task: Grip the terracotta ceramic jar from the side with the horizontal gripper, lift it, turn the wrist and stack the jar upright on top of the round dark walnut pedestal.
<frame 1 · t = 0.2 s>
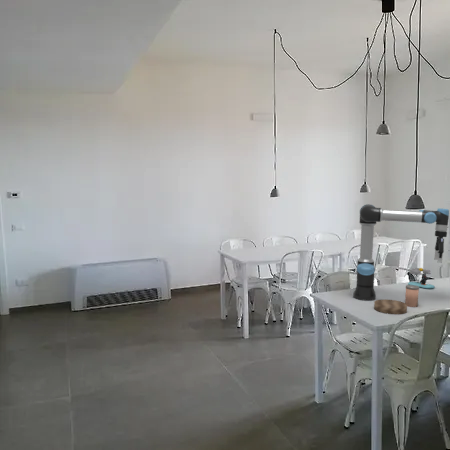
hand: (437, 261, 334), 27 cm above the table, fingers open, 13 cm apart
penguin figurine: (420, 287, 373), on the table
walnut pedestal: (390, 309, 310), on the table
terracotta jar: (411, 305, 321), on the table
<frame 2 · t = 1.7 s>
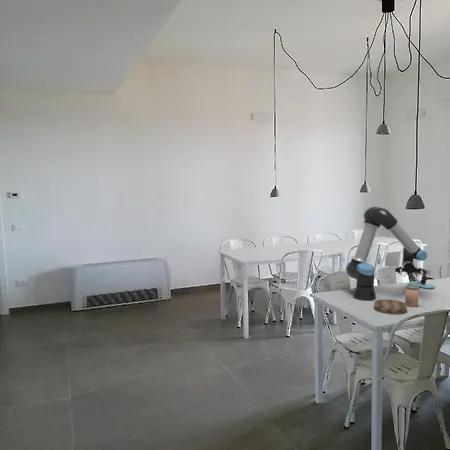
hand: (411, 273, 328), 20 cm above the table, fingers open, 13 cm apart
nothing on the table moved.
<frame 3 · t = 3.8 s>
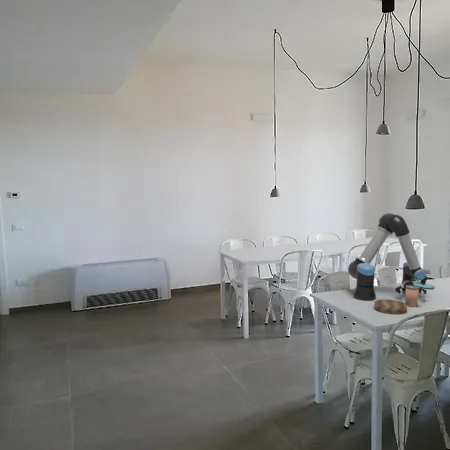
hand: (412, 293, 326), 6 cm above the table, fingers open, 13 cm apart
nothing on the table moved.
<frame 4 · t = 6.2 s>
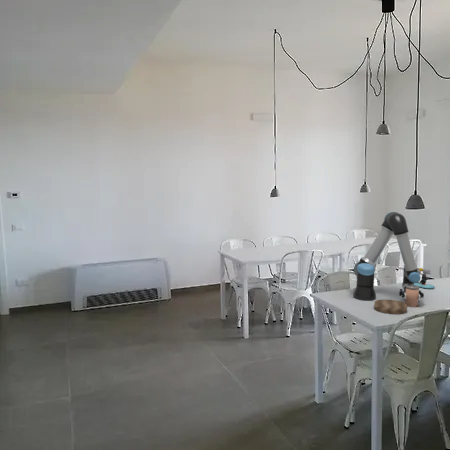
hand: (412, 297, 315), 7 cm above the table, fingers closed on terracotta jar, 8 cm apart
terracotta jar: (411, 305, 321), on the table, touching gripper
everything else where it was.
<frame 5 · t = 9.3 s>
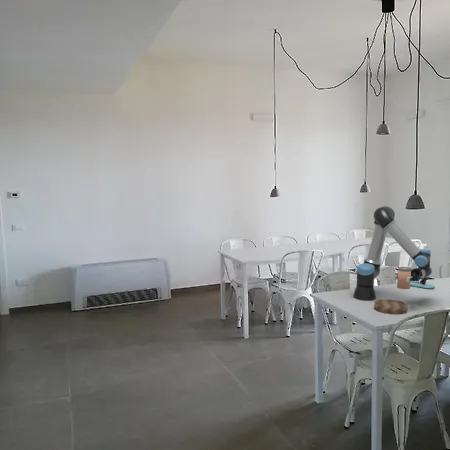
hand: (400, 278, 308), 20 cm above the table, fingers closed on terracotta jar, 8 cm apart
terracotta jar: (403, 287, 312), point 14 cm above the table, touching gripper
everything else where it was.
when the fingers open (12 cm above the table, at t = 12.8 s): terracotta jar drops 1 cm, resting on walnut pedestal.
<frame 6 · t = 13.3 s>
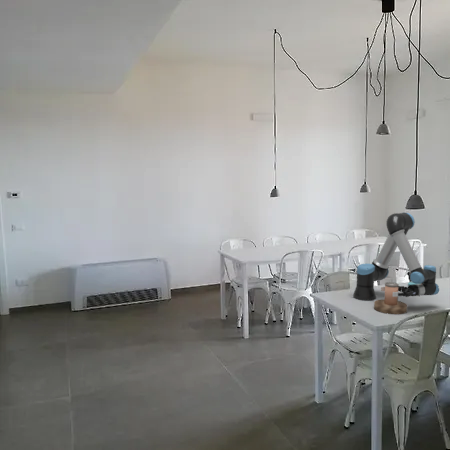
hand: (386, 291, 308), 12 cm above the table, fingers open, 13 cm apart
terracotta jar: (390, 303, 310), point 4 cm above the table, touching walnut pedestal
everything else where it was.
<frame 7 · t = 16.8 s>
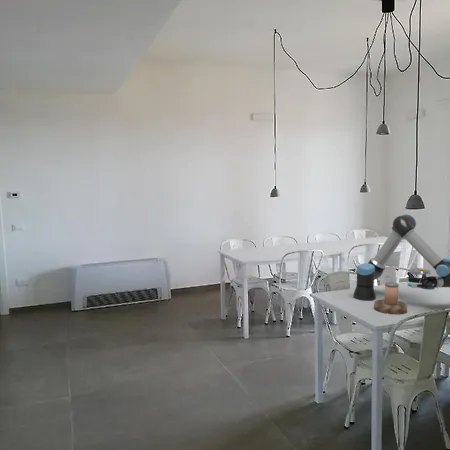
hand: (405, 283, 310), 17 cm above the table, fingers open, 13 cm apart
nothing on the table moved.
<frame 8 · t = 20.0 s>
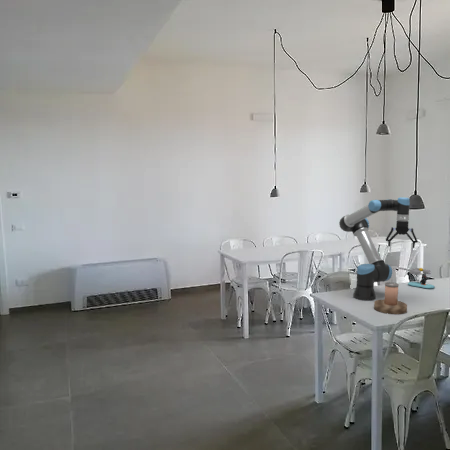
hand: (400, 252, 324), 35 cm above the table, fingers open, 13 cm apart
nothing on the table moved.
at the end: terracotta jar inside the target area on the walnut pedestal (0.1 cm from its centre), point 4.0 cm above the walnut pedestal's base; terracotta jar tilted 0°; the gripper is holding nothing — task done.
